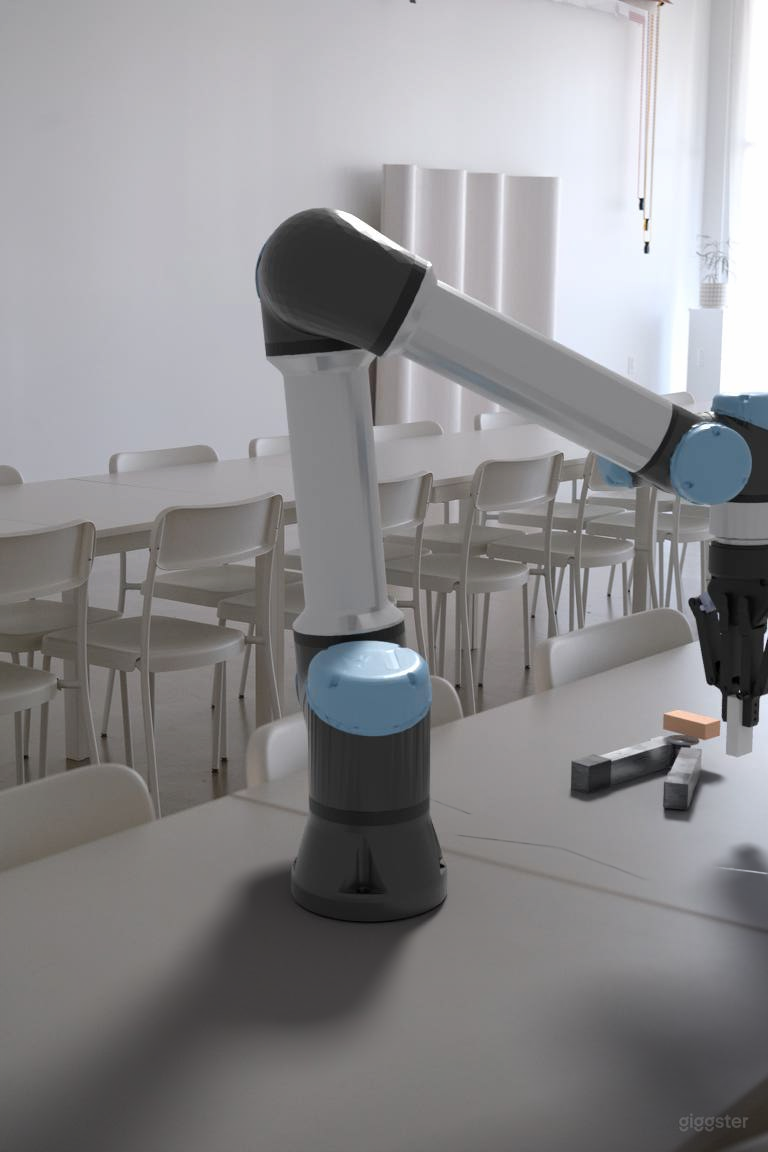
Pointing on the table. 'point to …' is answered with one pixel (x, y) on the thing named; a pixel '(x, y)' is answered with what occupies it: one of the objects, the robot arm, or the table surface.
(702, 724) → the tab
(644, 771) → the tong fixed
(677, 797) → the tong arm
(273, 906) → the table surface
